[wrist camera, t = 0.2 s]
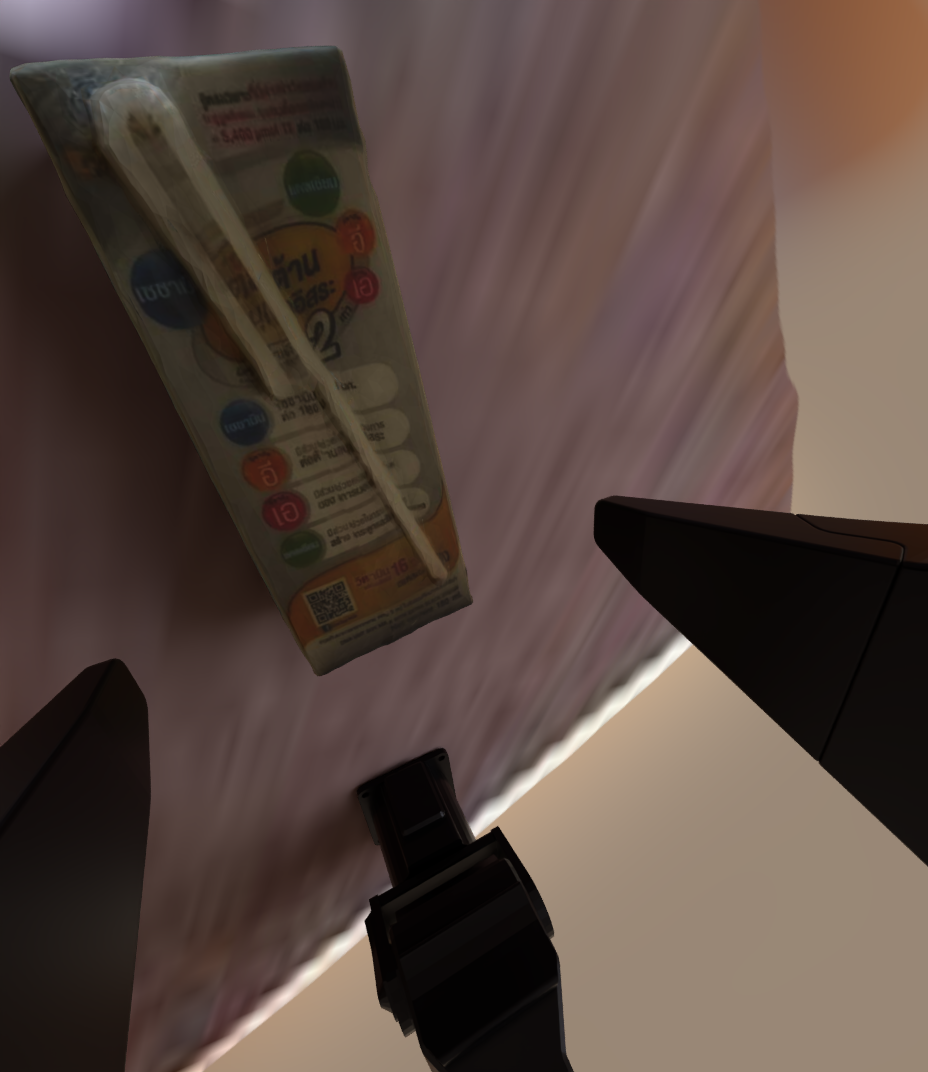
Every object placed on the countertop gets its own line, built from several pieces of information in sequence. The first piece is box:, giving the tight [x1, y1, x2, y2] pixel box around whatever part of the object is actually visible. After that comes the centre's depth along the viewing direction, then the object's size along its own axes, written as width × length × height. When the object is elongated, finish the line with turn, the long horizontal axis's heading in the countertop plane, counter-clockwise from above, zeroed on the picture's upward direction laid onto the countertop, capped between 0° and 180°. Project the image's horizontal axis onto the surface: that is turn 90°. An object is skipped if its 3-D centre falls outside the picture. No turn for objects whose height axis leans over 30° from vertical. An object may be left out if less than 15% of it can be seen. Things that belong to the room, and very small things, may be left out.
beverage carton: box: [10, 46, 473, 676], centre depth 18 cm, size 8×19×7 cm, turn 11°
